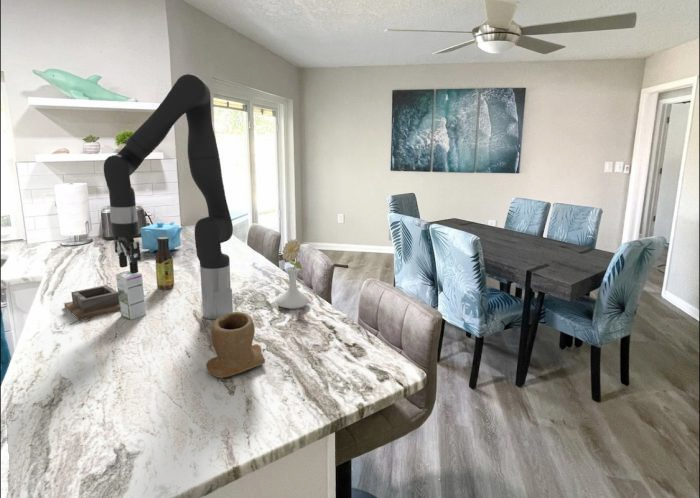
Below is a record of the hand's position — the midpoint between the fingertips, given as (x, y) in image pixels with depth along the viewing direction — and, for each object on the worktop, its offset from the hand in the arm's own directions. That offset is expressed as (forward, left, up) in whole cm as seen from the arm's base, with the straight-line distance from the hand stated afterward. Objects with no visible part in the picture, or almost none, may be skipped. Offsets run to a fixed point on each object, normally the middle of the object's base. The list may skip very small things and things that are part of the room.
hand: (128, 269), depth 138 cm
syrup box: (0, 0, -16) cm, 16 cm away
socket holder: (+15, +6, -16) cm, 22 cm away
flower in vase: (-30, -43, -16) cm, 55 cm away
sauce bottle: (+19, -20, -16) cm, 31 cm away
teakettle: (+74, -45, -16) cm, 88 cm away
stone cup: (-53, -5, -16) cm, 56 cm away
